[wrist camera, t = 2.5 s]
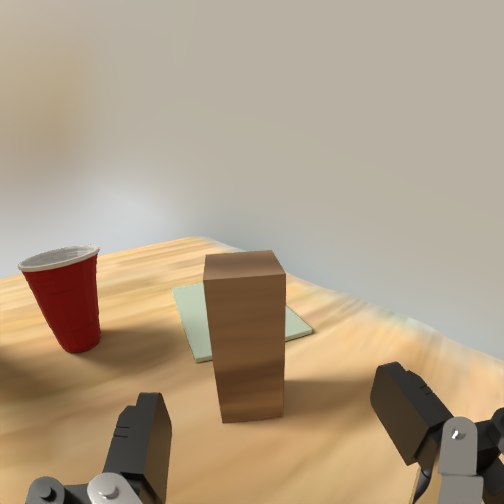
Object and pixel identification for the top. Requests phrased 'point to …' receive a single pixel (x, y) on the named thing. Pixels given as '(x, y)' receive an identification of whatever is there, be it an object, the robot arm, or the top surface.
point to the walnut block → (247, 332)
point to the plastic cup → (67, 294)
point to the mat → (196, 322)
